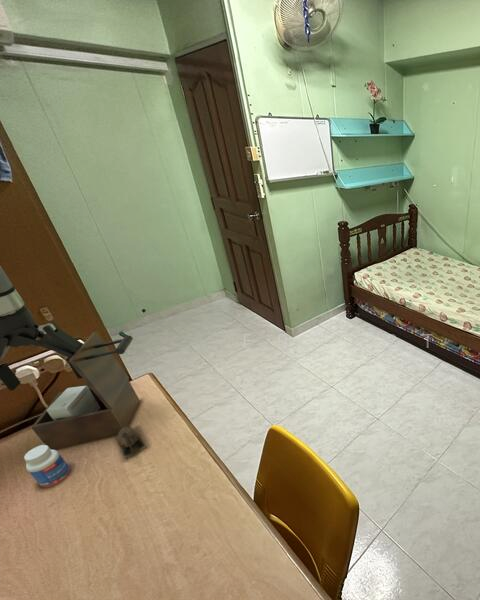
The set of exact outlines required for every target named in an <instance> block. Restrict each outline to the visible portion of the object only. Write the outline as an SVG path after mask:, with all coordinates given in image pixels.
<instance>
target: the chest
mask: <svg viewBox="0 0 480 600" xmlns="http://www.w3.org/2000/svg"><path fill="white" fill-rule="evenodd" d="M88 388H89V390H90V391H91V393H92V394H93V396H94V398H95V400H96V401H97V403H98V404H99V406H100V408H101V410H102V411H97V412H93V413H88V414H83V415H79V416H74V417H69V418H65V419H60V420H55V421H54V420H53V419H52V417H51V416H50V415H49V413H48V412H47V411H46V410H47V409H48V408H49V407H50V406H51V405H52V403H53V402H54V401H55V400H56V399H57V398H58V397H59V396H60V395H61V394H62V393H63V392H64V391H61V392H58V393H57V395H56V396H55V397H54V398H53V399H52V401H51V402H50V403H49V404H48V406H47V407H46V408H45V410H43V411H42V413H41V414H40V416H39V417H38V418H37V419H36V421H35V422H34V423H33V424H32V425H31V427H30V428H31V430H32V431H33V432H34V433H35V435H36V436H37V437H38V438H39V439H40V440H41V442H42V443H43V445H47V446H48V447H49V448H50V449H51V450H56V451H57V450H59V449H64V448H69V447H73V446H78V445H80V444H86V443H89V442H94V441H98V440H103V439H106V438H111V437H115V436H118V432H119V431H120V430H121V429H122V428H124V427H130V423H131V422H132V419H133V417H134V415H135V413H136V411H137V409H138V406H139V405H140V402H141V400H140V398H139V396H138V395H137V392H136V391H135V389H134V387H133V385H132V383H131V382H130V380H129V379H128V381H127V382H126V384H125V386H124V388H123V389H122V391H121V393H120V395H119V397H118V398H117V400H116V402H115V404H114V405H113V407H112V409H109V410H108V409H107V407H106V406H105V405H104V404H103V402H102V401H101V400H100V399H99V398H98V396H97V395H96V394H95V393H94V391H93V390H92V389H91V388H90V386H88Z"/></svg>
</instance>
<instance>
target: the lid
mask: <svg viewBox="0 0 480 600" xmlns="http://www.w3.org/2000/svg"><path fill="white" fill-rule="evenodd" d="M133 340H134V337H133V336H131V335H125V336H124V337H123V338H121V339H120V338H119V339H116V340H111V341H109V342H108V341H107V342H105V341H104V340H103V339H102V338H101V336H100V334H99V333H98V332H97V331H93V332H92V333H91V334H90V335H89V336H88V338H86V340H85V341H84V342H83V343H82V344H83V345H82V346H81V347H80V348H79V350H78V351H77V352H76V353H75V354H74V355H73V356H72V358H71V359H70V360H69V362H70V363H71V364H72V366H73V367H74V368H75V369H76V371H77V372H78V373H79V374H80V375H81V377H82V378H81V379H83V381H84V382H85V383H86V384H87V386H88V387H90V388H91V389H92V390H93V391H94V393H95V394H96V395H97V396H98V398H99V399H100V400H101V401H102V402H103V404H104V405H105V406H106V407H107V409H108V410H109V409H112V407H113V405H114V404H115V402H116V400H117V398H118V397H119V395H120V393H121V391H122V389H123V388H124V386H125V384H126V382H127V381H128V380H129V379H130V377H129V376H128V374H127V373H126V371H125V370H124V368H123V367H122V365H120V363H119V361H118V360H117V358H116V357H115V356H114V354H117V355H123V354H125V352H126V351H127V350H128V348H129V347H130V345H131V343H132V342H133ZM116 344H118V345H117V346H116V348H115V349H112V350H110V348H109V346H112V345H113V346H114V345H116Z"/></svg>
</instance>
